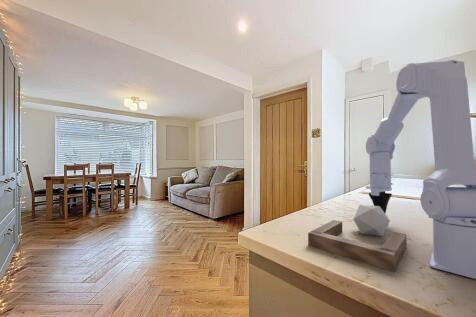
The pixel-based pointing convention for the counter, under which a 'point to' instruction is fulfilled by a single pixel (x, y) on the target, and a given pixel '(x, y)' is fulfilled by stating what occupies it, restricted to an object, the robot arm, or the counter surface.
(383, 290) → the counter surface
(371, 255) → the pocket
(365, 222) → the die
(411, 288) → the counter surface
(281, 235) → the counter surface
